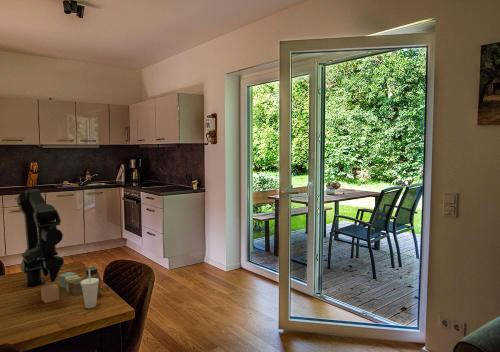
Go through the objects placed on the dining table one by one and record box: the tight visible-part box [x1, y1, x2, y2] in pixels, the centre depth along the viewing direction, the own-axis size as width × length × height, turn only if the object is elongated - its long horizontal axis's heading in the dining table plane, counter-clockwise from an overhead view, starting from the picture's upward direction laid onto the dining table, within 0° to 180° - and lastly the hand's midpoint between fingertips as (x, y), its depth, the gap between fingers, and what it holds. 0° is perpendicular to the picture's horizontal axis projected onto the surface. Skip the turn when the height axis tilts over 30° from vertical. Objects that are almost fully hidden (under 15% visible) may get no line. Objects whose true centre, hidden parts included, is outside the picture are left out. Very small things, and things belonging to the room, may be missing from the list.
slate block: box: [58, 271, 78, 289], centre depth 159 cm, size 5×5×5 cm
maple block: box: [64, 274, 81, 293], centre depth 155 cm, size 5×5×5 cm
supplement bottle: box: [83, 266, 102, 298], centre depth 147 cm, size 6×6×11 cm
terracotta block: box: [40, 283, 60, 304], centre depth 145 cm, size 5×5×5 cm
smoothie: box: [80, 270, 99, 309], centre depth 137 cm, size 6×6×14 cm
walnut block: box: [68, 277, 84, 297], centre depth 151 cm, size 5×5×5 cm
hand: (49, 279), depth 144 cm, fingers open, 9 cm apart
